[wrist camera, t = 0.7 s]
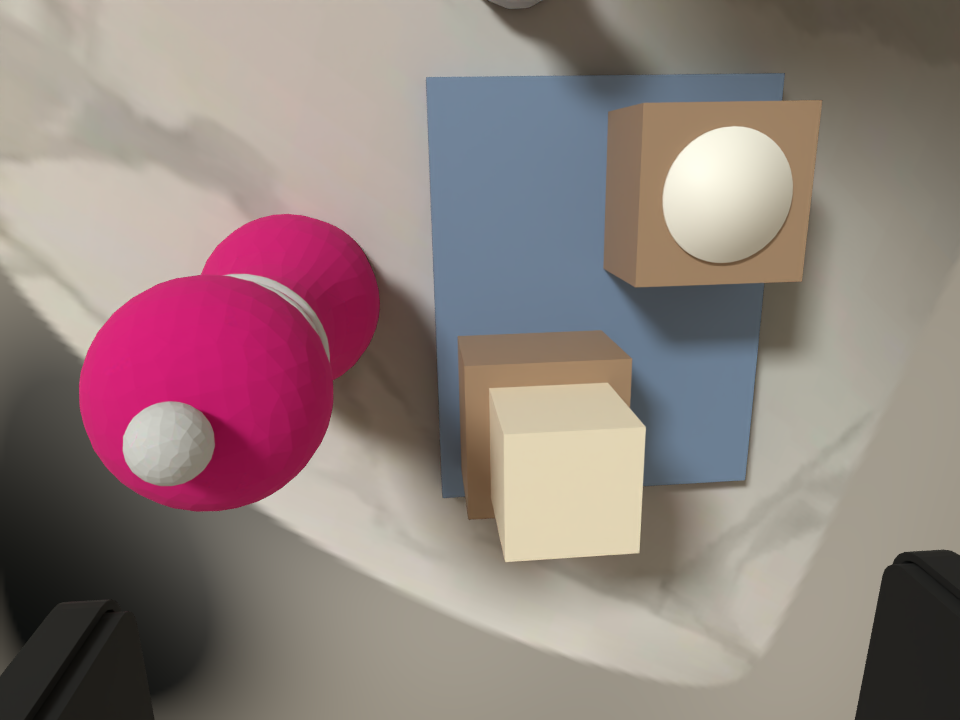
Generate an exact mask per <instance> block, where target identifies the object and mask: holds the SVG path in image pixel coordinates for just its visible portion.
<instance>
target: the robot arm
mask: <svg viewBox="0 0 960 720" xmlns="http://www.w3.org/2000/svg"><path fill="white" fill-rule="evenodd" d="M0 720H154V715H153V709H152V704H151V698H150V693H149V687H148V682H147V677H146V671H145V666H144V660H143V655H142V649H141V644H140V639H139V634H138V628H137V623H136V619H135V616H134V614H133V613H132V612H129V611H124V612H121V609H120V606H119V605H118V603H117V602H116V601H114V600H112V599H110V600H93V601H76V602H64V603H61V604H58V605H57V606H56V607H55V608H54V609H53V610H52V611H51V612H50V614H49V615H48V616H47V617H46V619H45V620H44V621H43V622H42V624H41V625H40V626H39V627H38V629H37V630H36V631H35V633H34V634H33V635H32V636H31V638H30V639H29V640H28V642H27V643H26V644H25V645H24V647H23V648H22V649H21V651H20V652H19V653H18V654H17V656H16V657H15V658H14V659H13V661H12V662H11V663H10V664H9V666H8V667H7V668H6V669H5V671H4V672H3V673H2V675H1V676H0ZM855 720H960V555H958V554H956V553H954V552H952V551H949V550H932V551H916V552H915V551H914V552H904V553H901V554H899V555H898V556H897V557H896V558H895V559H894V562H893V565H890V566H888V567H887V568H886V569H885V571H884V574H883V576H882V581H881V587H880V592H879V597H878V602H877V608H876V613H875V618H874V623H873V628H872V633H871V639H870V644H869V649H868V654H867V659H866V664H865V670H864V675H863V680H862V685H861V690H860V696H859V701H858V706H857V711H856V717H855Z"/></svg>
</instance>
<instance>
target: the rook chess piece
mask: <svg viewBox="0 0 960 720" xmlns="http://www.w3.org/2000/svg"><path fill="white" fill-rule="evenodd" d="M489 1H490V2H492V3H495V4H497V5H500V6H502V7H505V8H508V9H516V8H529V7H531V6H533V5H535V4H537V3H539V2H540V1H542V0H489Z"/></svg>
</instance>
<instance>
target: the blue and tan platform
mask: <svg viewBox="0 0 960 720" xmlns="http://www.w3.org/2000/svg"><path fill="white" fill-rule="evenodd" d="M784 76H785V73H768V74H678V75H589V76H500V77H426V92H427V117H428V143H429V169H430V195H431V220H432V246H433V272H434V297H435V323H436V349H437V375H438V400H439V426H440V452H441V477H442V495H443V498H452V497H465V499H466V506H467V512H468V519H469V520H470V519H486V518H496V523H497V527H498V532H499V537H500V541H501V546H502V550H503V555H504V559H505V562H514V561H529V560H544V559H559V558H574V557H589V556H604V555H619V554H633V553H639V550H640V531H641V512H642V492H643V486H655V485H672V484H688V483H705V482H722V481H739V480H745V476H746V466H747V455H748V445H749V435H750V425H751V414H752V404H753V394H754V384H755V373H756V363H757V353H758V342H759V332H760V322H761V312H762V301H763V291H764V283H771V282H799V281H802V275H803V266H804V257H805V249H806V240H807V231H808V222H809V213H810V204H811V195H812V187H813V178H814V169H815V160H816V151H817V142H818V134H819V125H820V116H821V107H822V100H800V101H782V96H783V86H784Z"/></svg>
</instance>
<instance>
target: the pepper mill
mask: <svg viewBox="0 0 960 720" xmlns="http://www.w3.org/2000/svg"><path fill="white" fill-rule="evenodd" d="M379 308H380V300H379V290H378V286H377V282H376V278H375V275H374V273H373V270H372V268H371V266H370V264H369V262H368V260H367V258H366V256H365V254H364V252H363V251H362V249H361V248H360V247H359V245H358V244H357V243H356V242H355V241H354V240H353V239H352V238H351V237H350V236H349V235H348V234H346V233H345V232H344V231H342V230H341V229H339V228H337V227H336V226H333V225H331V224H329V223H326V222H323V221H320V220H317V219H314V218H310V217H306V216H302V215H292V214H282V215H271V216H267V217H263V218H259V219H256V220H254V221H251V222H249V223H247V224H245V225H243V226H242V227H240V228H238V229H237V230H235V231H234V232H233V233H231V234H230V235H229V236H228V237H227V238H226V239H225V240H223V241H222V242H221V243H220V244H219V245H218V246H217V247H216V248H215V250H214V251H213V253H212V254H211V256H210V257H209V258H208V260H207V262H206V264H205V266H204V269H203V271H202V273H201V275H197V276H190V277H183V278H176V279H172V280H169V281H166V282H163V283H160V284H157V285H155V286H154V287H152V288H150V289H148V290H146V291H144V292H142V293H141V294H139V295H137V296H135V297H133V298H132V299H130V300H129V301H128V302H127V303H126V304H124V305H123V306H122V307H121V308H119V309H118V310H117V311H116V312H114V314H113V315H112V316H111V317H110V318H109V319H108V321H107V322H106V323H105V324H104V325H103V327H102V328H101V329H100V330H99V331H98V333H97V335H96V337H95V338H94V340H93V342H92V344H91V346H90V348H89V350H88V352H87V355H86V358H85V361H84V364H83V367H82V370H81V376H80V384H79V397H80V411H81V414H82V419H83V423H84V426H85V429H86V432H87V434H88V436H89V439H90V441H91V444H92V446H93V449H94V450H95V452H96V453H97V455H98V456H99V458H100V459H101V460H102V462H103V463H104V465H105V466H106V467H107V468H108V470H109V471H110V472H111V473H113V474H114V476H115V477H117V479H118V480H120V481H121V482H122V483H123V484H124V485H126V486H127V487H129V488H130V489H132V490H133V491H135V492H136V493H138V494H140V495H142V496H144V497H146V498H148V499H150V500H153V501H155V502H157V503H159V504H162V505H165V506H168V507H172V508H176V509H183V510H190V511H221V510H227V509H234V508H238V507H241V506H245V505H248V504H251V503H254V502H257V501H260V500H262V499H264V498H266V497H268V496H270V495H271V494H273V493H274V492H276V491H278V490H279V489H281V488H282V487H283V486H285V485H286V484H287V483H288V482H289V481H291V480H292V479H293V478H294V477H295V476H297V474H298V473H299V472H300V471H301V470H302V469H303V468H304V467H305V466H306V465H307V463H308V462H309V460H310V459H311V457H312V456H313V454H314V453H315V451H316V450H317V448H318V447H319V445H320V444H321V442H322V440H323V438H324V435H325V433H326V431H327V428H328V425H329V421H330V417H331V413H332V407H333V380H335V379H336V378H338V377H340V376H342V375H343V374H344V373H345V372H346V371H348V370H349V369H350V368H351V367H352V366H354V365H355V363H356V362H357V361H358V359H359V358H360V357H361V355H362V354H363V353H364V351H365V350H366V349H367V347H368V345H369V344H370V341H371V339H372V337H373V335H374V332H375V330H376V326H377V322H378V318H379Z"/></svg>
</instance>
